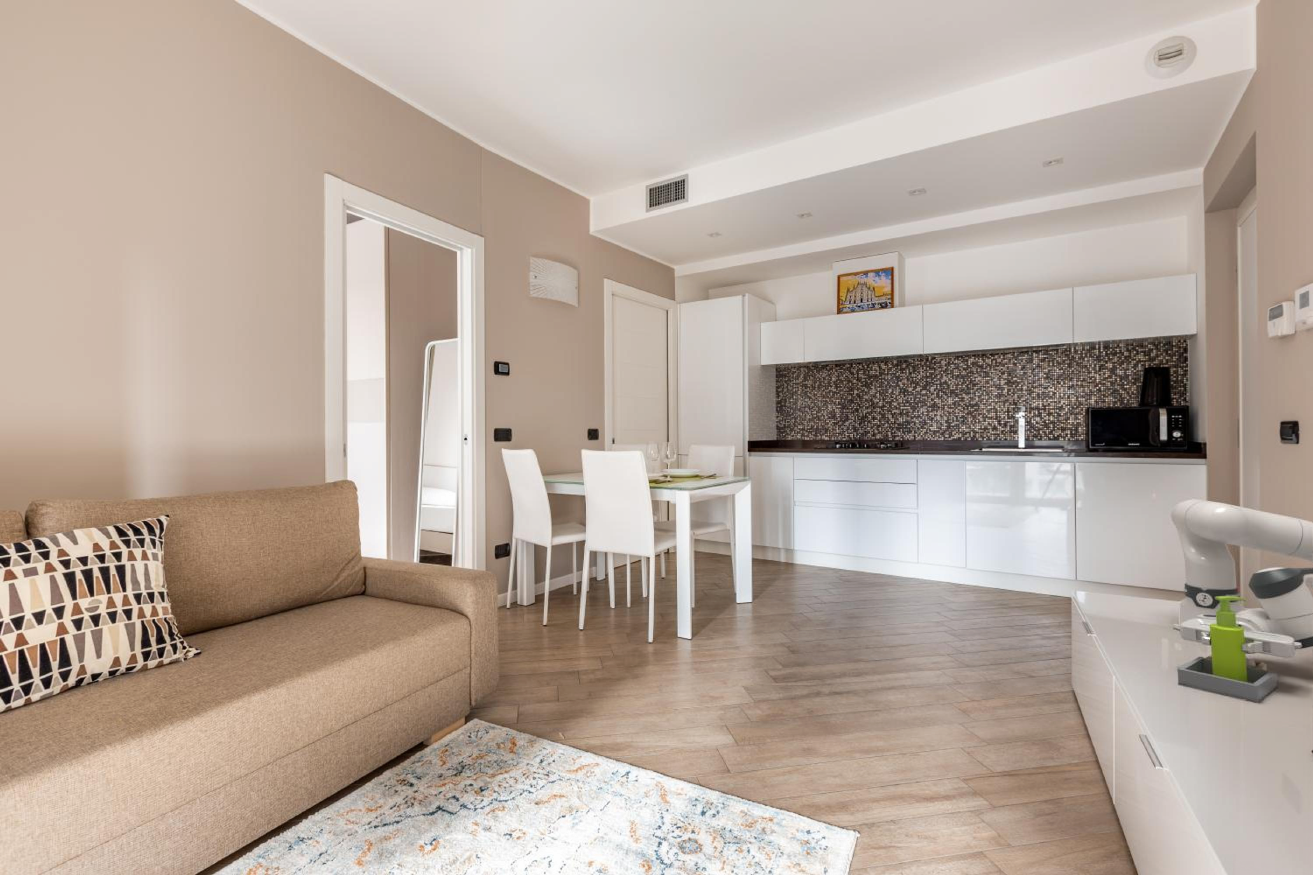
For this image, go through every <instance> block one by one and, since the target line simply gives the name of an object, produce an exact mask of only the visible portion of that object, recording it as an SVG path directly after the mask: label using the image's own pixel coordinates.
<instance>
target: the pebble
mask: <svg viewBox="0 0 1313 875" xmlns="http://www.w3.org/2000/svg"><path fill="white" fill-rule="evenodd" d="M1254 661H1255V660H1253V659H1250V658H1247V657H1246V666H1249V667H1254V668H1255V667H1256V664H1255V662H1254Z"/></svg>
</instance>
